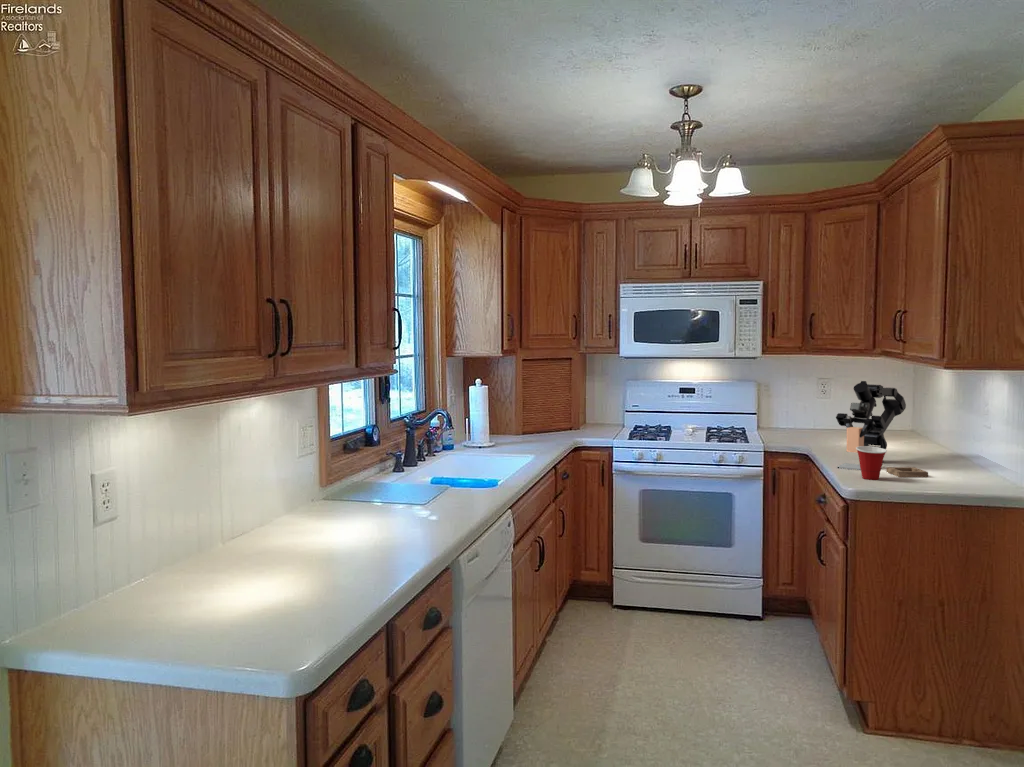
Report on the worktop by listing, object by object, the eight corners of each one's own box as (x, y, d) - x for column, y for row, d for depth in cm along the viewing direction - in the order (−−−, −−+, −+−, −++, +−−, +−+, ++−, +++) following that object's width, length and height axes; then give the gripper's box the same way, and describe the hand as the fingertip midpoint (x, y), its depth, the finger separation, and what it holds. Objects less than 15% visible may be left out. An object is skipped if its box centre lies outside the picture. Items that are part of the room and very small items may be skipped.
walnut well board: (886, 472, 301) (886, 467, 301) (914, 472, 300) (914, 467, 300) (899, 477, 290) (899, 472, 290) (928, 477, 289) (928, 472, 289)
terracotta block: (851, 450, 315) (852, 426, 315) (863, 451, 312) (864, 427, 311) (846, 451, 312) (846, 427, 311) (858, 452, 308) (858, 428, 308)
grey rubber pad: (844, 464, 320) (844, 463, 320) (872, 467, 313) (872, 465, 313) (836, 468, 312) (836, 466, 312) (864, 470, 305) (864, 469, 305)
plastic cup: (869, 482, 281) (869, 450, 281) (849, 477, 292) (849, 446, 291) (893, 480, 284) (893, 449, 283) (872, 475, 295) (872, 445, 294)
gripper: (838, 394, 320) (825, 422, 313) (882, 396, 306) (871, 425, 299) (846, 411, 326) (834, 438, 319) (890, 414, 312) (878, 443, 305)
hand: (853, 436), depth 311 cm, fingers closed on terracotta block, 5 cm apart
